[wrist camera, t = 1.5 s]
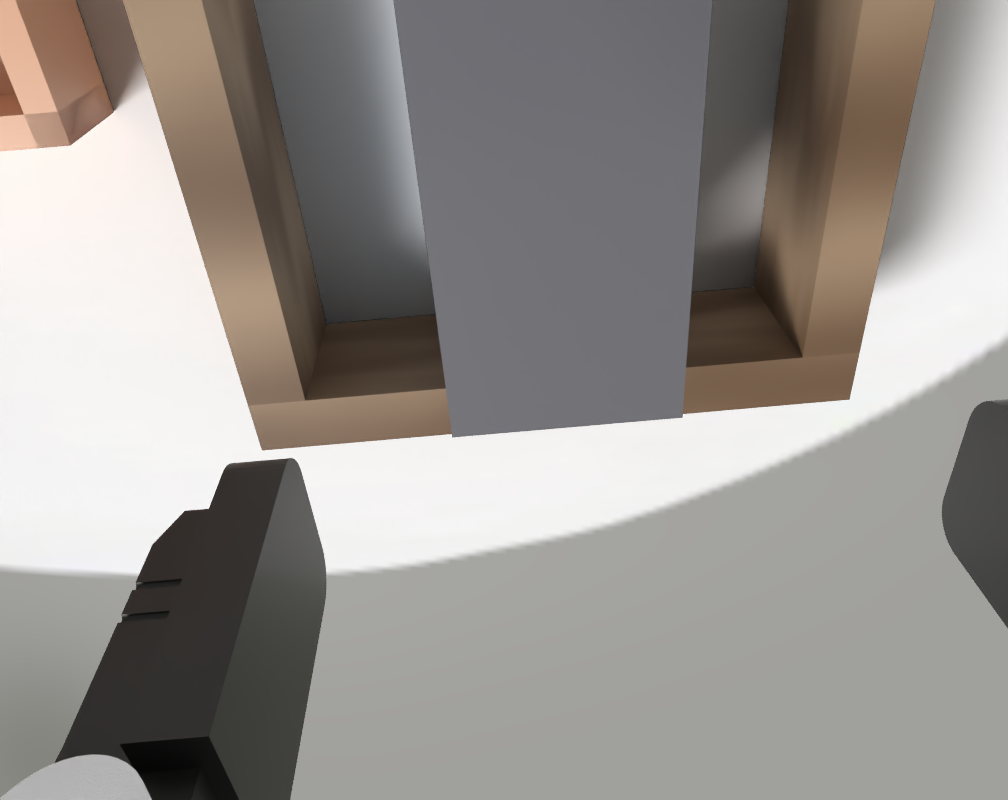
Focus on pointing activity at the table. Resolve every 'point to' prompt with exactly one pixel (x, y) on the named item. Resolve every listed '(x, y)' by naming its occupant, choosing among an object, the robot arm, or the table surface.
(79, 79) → the tray
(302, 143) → the table surface
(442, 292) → the grey rectangular prism
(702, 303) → the bay
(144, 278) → the table surface
